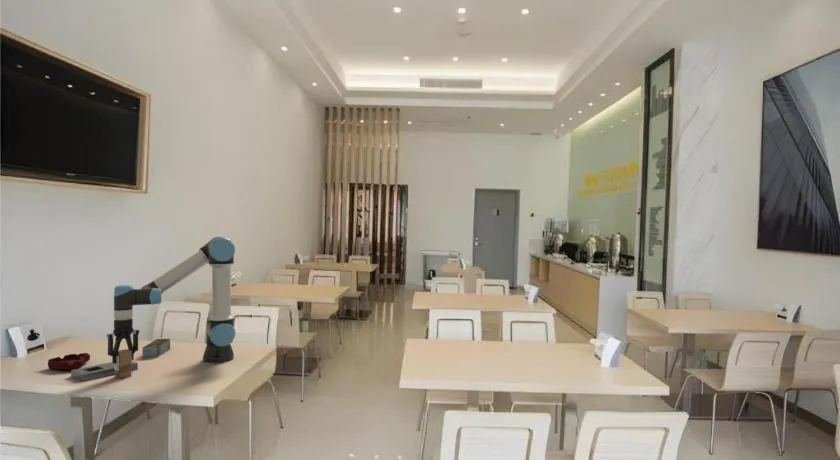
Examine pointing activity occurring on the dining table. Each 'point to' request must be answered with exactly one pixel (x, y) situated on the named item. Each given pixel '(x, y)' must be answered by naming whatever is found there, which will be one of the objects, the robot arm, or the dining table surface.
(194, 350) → the dining table surface
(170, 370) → the dining table surface
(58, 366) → the dark red curved piece
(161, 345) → the beverage carton
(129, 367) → the walnut block
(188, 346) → the dining table surface
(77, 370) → the steel rail
